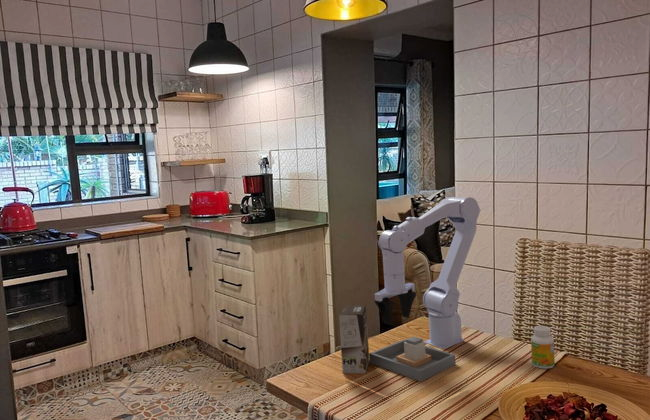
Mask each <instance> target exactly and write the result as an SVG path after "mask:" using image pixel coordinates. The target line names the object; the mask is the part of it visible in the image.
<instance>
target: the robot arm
mask: <svg viewBox="0 0 650 420" xmlns="http://www.w3.org/2000/svg"><path fill="white" fill-rule="evenodd" d="M480 212H481V209H480V206H479V203H478V201H477V200H476V199H475V198H474V197H471V196H469V197H463V196H462V197H460V196H458V197H456V196H448V197H446V198H444V199H442V200H440V202H439V203H437V204H436V205H435V206H434V207H432V208H431V209H429V210H428V211H426V212H425V213H424V214H422V215H420V216H419V217H415V216H407V217H406V218H405V221H403V222H402V223H399V224H398V225H394V226H392V229H391V230H390V229H387V230H384V231H383V232H381V234H380V236H379V239H378V240H377V245H378V248H380V250H381V254H382V266H383V280H384V281H383V282H384V288H383V289H381V290H379V291H378V292H376V293H374V303H375V304H376V306H377V308H378V310H379V312H380V314H381V317H382V320H383V323H384V324H385V325H388V326H390V325H392V323H393V322H392V321H393V320H392V319H393V317H392V316H393V315H392V314H393V307H394V303H395V302H394V300H390V298H393V297H395V296H397V297H398V300H399V303H400V311H401V315H402V318H407V319H409V318H410V316H411V310H412V307H413V303H414V301H415V299H416V296H417V292H415V290H416V289H415V288H416V286H415V283H414V282H413V283H412V282H408V283H406V279H405V278H406V276H405V259H404V251H405V249H406V248H407V246H408V244H409V243H411V242H412V241H414V240H416V239H417V238H419V237H421V236H422V235H424V233H425V229H426V228H427V227H430V226H431V225H433V224H435V223H436V222H438V221H440V220H443V219H444V218H447V219H448V220H449V222H450V223H451V224H452V225H453V227H454V229H455V233H454V235H453V237H452V240H451V243H450V246H449V248H448V251H447V254H446V257H445V259H444V261H443V264H442V267H441V270H440V273H439V275H438V278H437V279H436V280H434V281H433V282H431V283H430V285H429V288H428V289H427V290H426V291H425V292H424V294H423V297H422V303H423V306H424V307H425V308H426V310H427V314H428V326H429V327H428V329H429V339H426V340H423V341H424V342H425V345H426V344H427V345H430V346H433V347H437V348H440V349H443V350H445V349H448V348H450V347H452V346H454V345H457V344H459V343H461V342H464V341H465V338H463V335H462V333H463V332H462V319H461V316H460V314H459V313H458V312H457V311H458V309H459V299H460V295H461V293H460V290H459V289H458V287H457V283H458V281H459V279H460V275H461V273H462V272H463V271H462V270H463V268H464V266H465V265H464V264H465V262H466V259H467V256H468V254H469V251H470V249H471V246H472V243H473V241H474V239H475V238H474V237H475V234H476V232H477V223H478V218H479V215H480Z"/></svg>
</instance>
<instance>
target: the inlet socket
mask: <svg viewBox="0 0 650 420" xmlns="http://www.w3.org/2000/svg"><path fill="white" fill-rule="evenodd" d="M430 360H432V357H431V355H428V354H426V357H424V358H422V359H420V360H417V361H415V362H414V361H411V360H408V359H405V355H404V353H403V354H401V355H399V356H396V361H399V362H401V363H404V364H407V365H410V366H413V367H417V366H419V365H421V364H424V363H426V362H428V361H430Z"/></svg>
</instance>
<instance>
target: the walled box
mask: <svg viewBox="0 0 650 420" xmlns="http://www.w3.org/2000/svg"><path fill="white" fill-rule="evenodd" d="M404 342H406V339H402V340H399V341H397V342H395V343H391V344H389V345H387V346H384V347H382V348H380V349H377V350H374V351H372V352H369V364H373V365H374V366H378V367H379V368H380V367H381V368H382V369H386V370H388V371H391V372H393V373H396V374H399V375H402V376H404V377H406V378H409V379H412V380H415V381H418V382H423V381H424V380H427V379H430V378H431V377H434V376H435V375H437V374H439V373H441V372H443V371H446V370H447V369H449V368H452V367H454V366H456V364H457V363H456V354H453V353H451V352H447V351H443V350H441V349H436V348H434V347H431V346H427V345H425V353H426V354H428V355H431V357H432V360H430V361H428V362H426V363H424V364H421V365H419V366H417V367H413V366H410V365H407V364H404V363H401V362H399V361H396V356H399V355H401V354H403V353H404Z"/></svg>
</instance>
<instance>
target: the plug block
mask: <svg viewBox="0 0 650 420" xmlns="http://www.w3.org/2000/svg"><path fill="white" fill-rule="evenodd" d="M405 340H406V342H404V355H405V359H408V360H411V361H414V362H415V361H417V360H420V359H422V358H424V357H426V353H425V346H426V343H425V342H424V341H425V340H423V338H420V337H417V336H412V337H409V338H405Z"/></svg>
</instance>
